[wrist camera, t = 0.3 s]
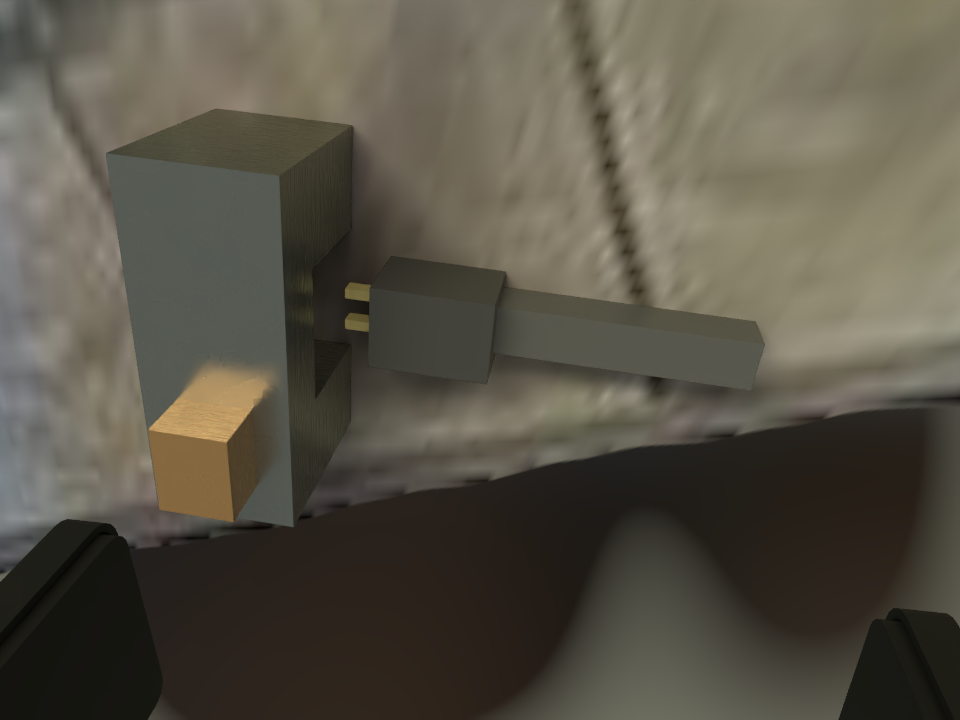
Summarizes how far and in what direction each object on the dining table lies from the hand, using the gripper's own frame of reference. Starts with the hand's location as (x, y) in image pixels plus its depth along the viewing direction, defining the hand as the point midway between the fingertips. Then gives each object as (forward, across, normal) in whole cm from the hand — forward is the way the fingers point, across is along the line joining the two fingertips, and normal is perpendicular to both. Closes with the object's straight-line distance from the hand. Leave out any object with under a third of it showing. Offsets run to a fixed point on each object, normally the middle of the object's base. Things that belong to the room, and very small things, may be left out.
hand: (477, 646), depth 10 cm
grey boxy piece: (+36, +17, +10) cm, 41 cm away
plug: (+36, +1, +11) cm, 38 cm away
